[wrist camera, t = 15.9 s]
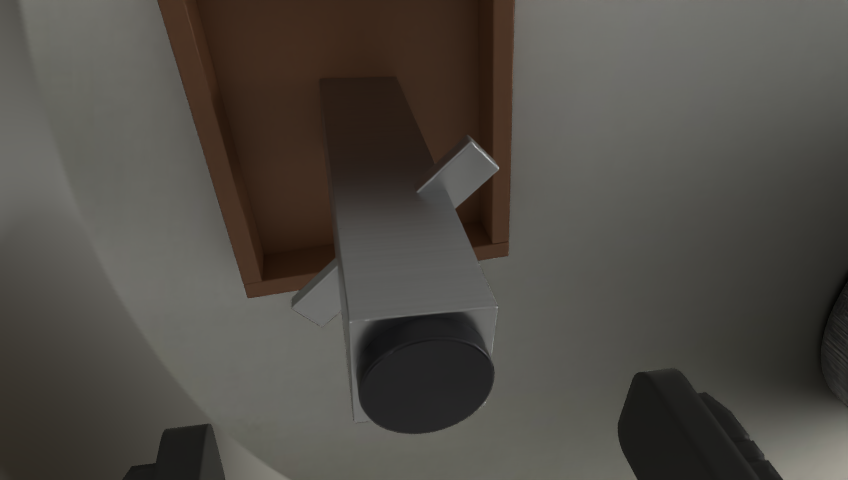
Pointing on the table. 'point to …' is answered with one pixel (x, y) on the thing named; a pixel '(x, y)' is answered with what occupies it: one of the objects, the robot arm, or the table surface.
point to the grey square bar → (402, 263)
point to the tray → (302, 120)
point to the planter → (837, 348)
